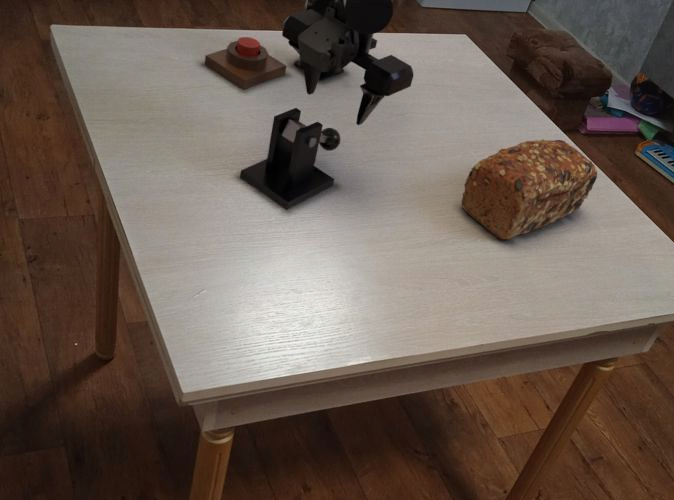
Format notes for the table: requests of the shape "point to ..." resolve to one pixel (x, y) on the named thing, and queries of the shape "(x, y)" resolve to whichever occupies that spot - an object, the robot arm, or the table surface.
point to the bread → (527, 186)
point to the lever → (328, 136)
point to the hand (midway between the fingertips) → (334, 108)
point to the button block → (245, 66)
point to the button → (248, 46)
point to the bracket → (290, 164)
